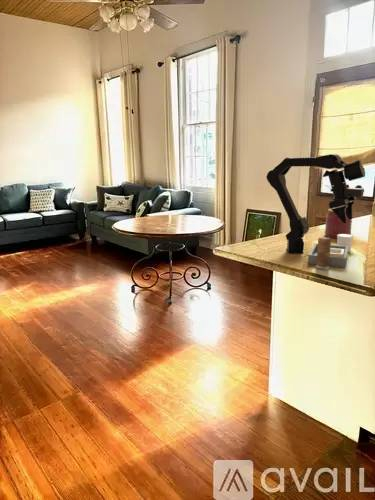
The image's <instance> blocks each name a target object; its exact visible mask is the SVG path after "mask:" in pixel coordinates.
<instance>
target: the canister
mask: <svg viewBox="0 0 375 500" xmlns="http://www.w3.org/2000/svg"><path fill="white" fill-rule="evenodd" d="M332 209H333V208H332ZM327 211H328V212H326V213H325V215H326V219H325V229H324V237H327V238H331V239H337V235H338V234H350V235H352V225H353V224H352V222H353V219H351V220H349V218H348V217H347V215H346V220H347V223H343V222H342V221H341V220H340V218H339V217H338V216H337V215H336V214H335V213H334V212H333V211H332V210H331V209H330V208H328V210H327ZM353 215H354V214H353V213H352V217H353Z"/></svg>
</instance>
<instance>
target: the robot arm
mask: <svg viewBox="0 0 375 500" xmlns="http://www.w3.org/2000/svg"><path fill="white" fill-rule="evenodd" d="M292 167H318V168H321V169H326V170H325V171H324V174H322V177H323V178H326V177H328V180H329V183H330V187H331V188H330V192H332V194H333V198H332V200H331V201H330V202H329V203H328V207H329V208H328V209H331V210H332V211H333V212H334V213H335V214H336V215H337V216H338V217H339V218H340V220H341V221H342V222H343V223H347V220H346V215H347V217H348V218H349V220H353V216H352V214H353V207H354V204H355V203H356V202H357V198H362V197H364V194H365V188H364V187H363V186H362V184H361V185H360V184H359V185H358V184H357V185H356V186H355V187H350V185H349V184H347V181H346V180H348V181H350V182H351V181H354V180H355V181H356V180H358V179H362V178H365V177H366V170H365V167H364V165H363V164H362V161H361V160H360V159H358V160H355V161H354V162H351V163H348V164H347V162H345V161H343V159H342V158H341V155H339V154H337V153H332V154H325V155H320V156H318V157H317V156H315V157H313V156H312V157H285V158H284V159H283V160H282V161H281V162H280V163H279V164H278V165H277V166H275V167H274V168H273V169H271V170H269V171H268V172H267V174H266V180H267V182H268V183H269V185H270V186H271V187H272V188H273V189H274V191H276V193H277V195H278V197H279V199H280V202H281V204H282V206H283V209H284V210H285V212H286V215H287V217H288V219H289V228H290V231H289V232H287V234H285V238H286V239H285V240H286V241H287V242H286V243H287V244H286V245H287V246H286V248H285V251H286V252H287V253H288V254H304V250H305V249H304V248H305V242H304V239H303V238H304V237H305V235H306V234H307V233H309V230H310V224H309V222H308V221H307V217H306V216H304V217H302V216H301V215H300V213H299V212H298V209H297V207H296V205H295V203H294V201H293V199H292V196H291V195H290V192H289V190H288V188H287V180H286V176H285V175H287V174H288V173H289V171H290V170H291V168H292ZM339 169H342V170H339ZM332 208H333V209H332Z"/></svg>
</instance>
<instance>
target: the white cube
mask: <svg viewBox="0 0 375 500" xmlns="http://www.w3.org/2000/svg"><path fill="white" fill-rule="evenodd" d="M336 240H337V241H336V242H337V245H339V246H348V252H351V251H352V245H353V240H354V235H353V234H351V235H350V234H338V235H337V238H336Z"/></svg>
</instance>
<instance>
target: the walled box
mask: <svg viewBox="0 0 375 500" xmlns="http://www.w3.org/2000/svg"><path fill="white" fill-rule="evenodd" d="M317 251H318V243H313V246H312V248H311V249H310V251H309V253H308V254H307V255H308V257H307V265H310V266H311V265H312V266H316V265H317ZM348 254H349V251H348V246H339V245H336V244H331V247H330V260H329V268H338V269H339V268H341V269H345V268H346V265H347V260H348V256H349V255H348Z"/></svg>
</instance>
